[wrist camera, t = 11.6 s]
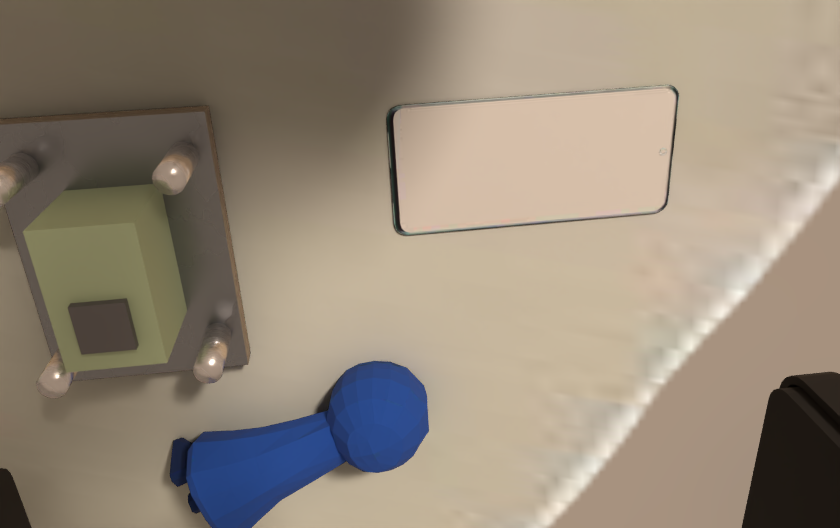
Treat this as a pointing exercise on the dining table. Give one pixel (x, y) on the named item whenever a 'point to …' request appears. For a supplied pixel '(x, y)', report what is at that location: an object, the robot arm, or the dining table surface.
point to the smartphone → (531, 158)
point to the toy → (304, 446)
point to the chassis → (185, 206)
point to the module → (108, 276)
